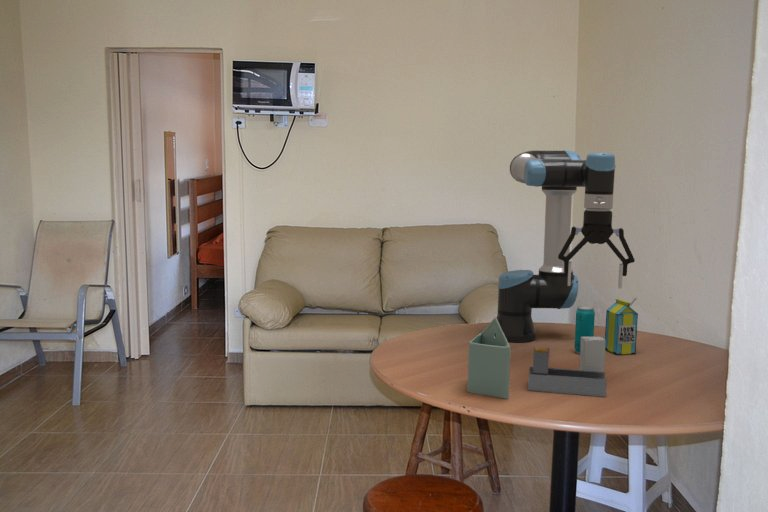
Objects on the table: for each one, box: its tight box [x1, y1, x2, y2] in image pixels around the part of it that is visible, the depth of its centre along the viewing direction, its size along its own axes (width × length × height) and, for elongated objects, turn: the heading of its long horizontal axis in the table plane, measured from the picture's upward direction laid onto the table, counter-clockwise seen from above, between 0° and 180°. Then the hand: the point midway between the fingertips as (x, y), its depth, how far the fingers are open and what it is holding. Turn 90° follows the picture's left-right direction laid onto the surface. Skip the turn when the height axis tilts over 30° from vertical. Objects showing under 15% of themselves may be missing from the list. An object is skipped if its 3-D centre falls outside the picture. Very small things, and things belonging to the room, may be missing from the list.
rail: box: [527, 346, 608, 398], centre depth 192 cm, size 8×20×11 cm, turn 77°
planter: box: [466, 317, 511, 400], centre depth 190 cm, size 16×8×20 cm, turn 20°
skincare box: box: [579, 336, 606, 372], centre depth 201 cm, size 6×4×12 cm
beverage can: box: [574, 305, 596, 355], centre depth 229 cm, size 6×6×15 cm
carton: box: [604, 297, 639, 356], centre depth 231 cm, size 7×8×18 cm
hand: (594, 286), depth 198 cm, fingers open, 13 cm apart
